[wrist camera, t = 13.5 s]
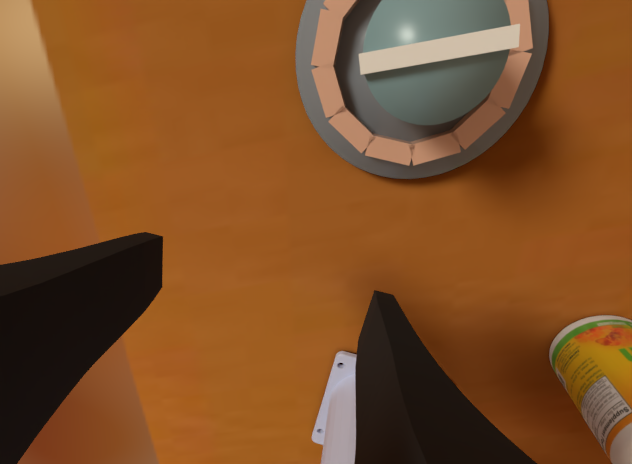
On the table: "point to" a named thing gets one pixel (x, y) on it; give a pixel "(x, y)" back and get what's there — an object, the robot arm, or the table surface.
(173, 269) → the table surface
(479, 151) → the socket
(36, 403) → the robot arm
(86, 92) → the table surface
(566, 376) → the supplement bottle
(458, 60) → the cylinder with tan strip
